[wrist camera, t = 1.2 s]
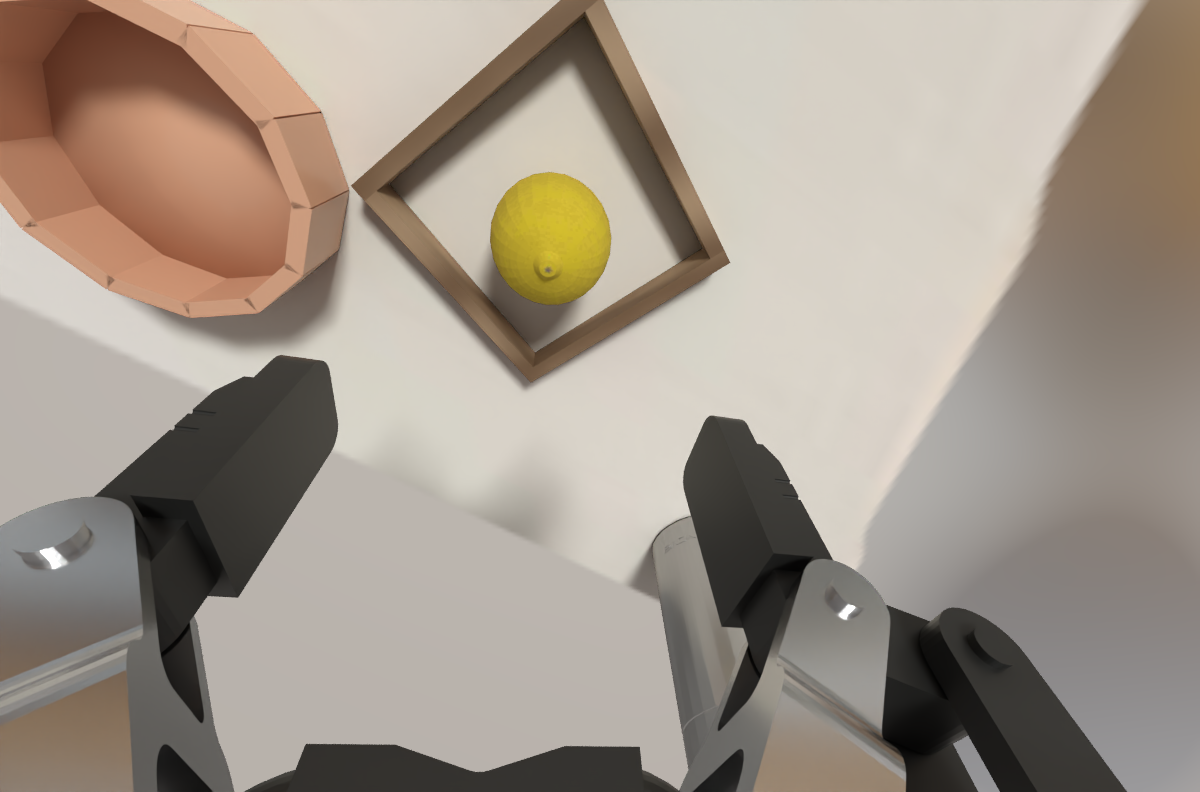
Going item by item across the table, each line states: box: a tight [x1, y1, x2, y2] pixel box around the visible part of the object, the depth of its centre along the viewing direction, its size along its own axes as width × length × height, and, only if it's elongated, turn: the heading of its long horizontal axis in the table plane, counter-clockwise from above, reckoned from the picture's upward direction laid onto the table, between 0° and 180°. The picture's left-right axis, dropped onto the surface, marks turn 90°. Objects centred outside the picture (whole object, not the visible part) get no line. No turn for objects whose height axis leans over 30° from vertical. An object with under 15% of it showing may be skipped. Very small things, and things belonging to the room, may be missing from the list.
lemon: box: [490, 172, 611, 305], centre depth 21 cm, size 6×6×8 cm
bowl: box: [0, 0, 349, 318], centre depth 20 cm, size 13×13×4 cm
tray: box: [351, 0, 730, 382], centre depth 23 cm, size 14×14×2 cm
